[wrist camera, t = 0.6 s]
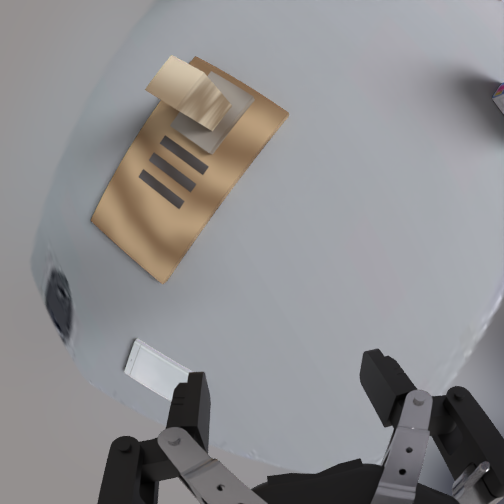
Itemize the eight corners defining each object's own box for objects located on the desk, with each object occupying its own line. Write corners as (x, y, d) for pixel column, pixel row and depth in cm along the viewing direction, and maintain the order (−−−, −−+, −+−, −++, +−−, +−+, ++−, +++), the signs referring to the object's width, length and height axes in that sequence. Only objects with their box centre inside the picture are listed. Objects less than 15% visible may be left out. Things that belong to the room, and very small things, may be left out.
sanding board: (199, 60, 30) (195, 55, 29) (288, 115, 31) (288, 112, 29) (96, 218, 37) (90, 220, 36) (167, 280, 38) (162, 284, 36)
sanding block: (214, 75, 29) (177, 30, 18) (254, 100, 30) (234, 58, 18) (174, 127, 32) (120, 106, 20) (212, 154, 32) (170, 140, 20)
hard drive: (205, 383, 40) (134, 341, 40) (187, 411, 42) (122, 374, 42) (208, 376, 41) (138, 336, 41) (189, 405, 44) (127, 368, 44)
